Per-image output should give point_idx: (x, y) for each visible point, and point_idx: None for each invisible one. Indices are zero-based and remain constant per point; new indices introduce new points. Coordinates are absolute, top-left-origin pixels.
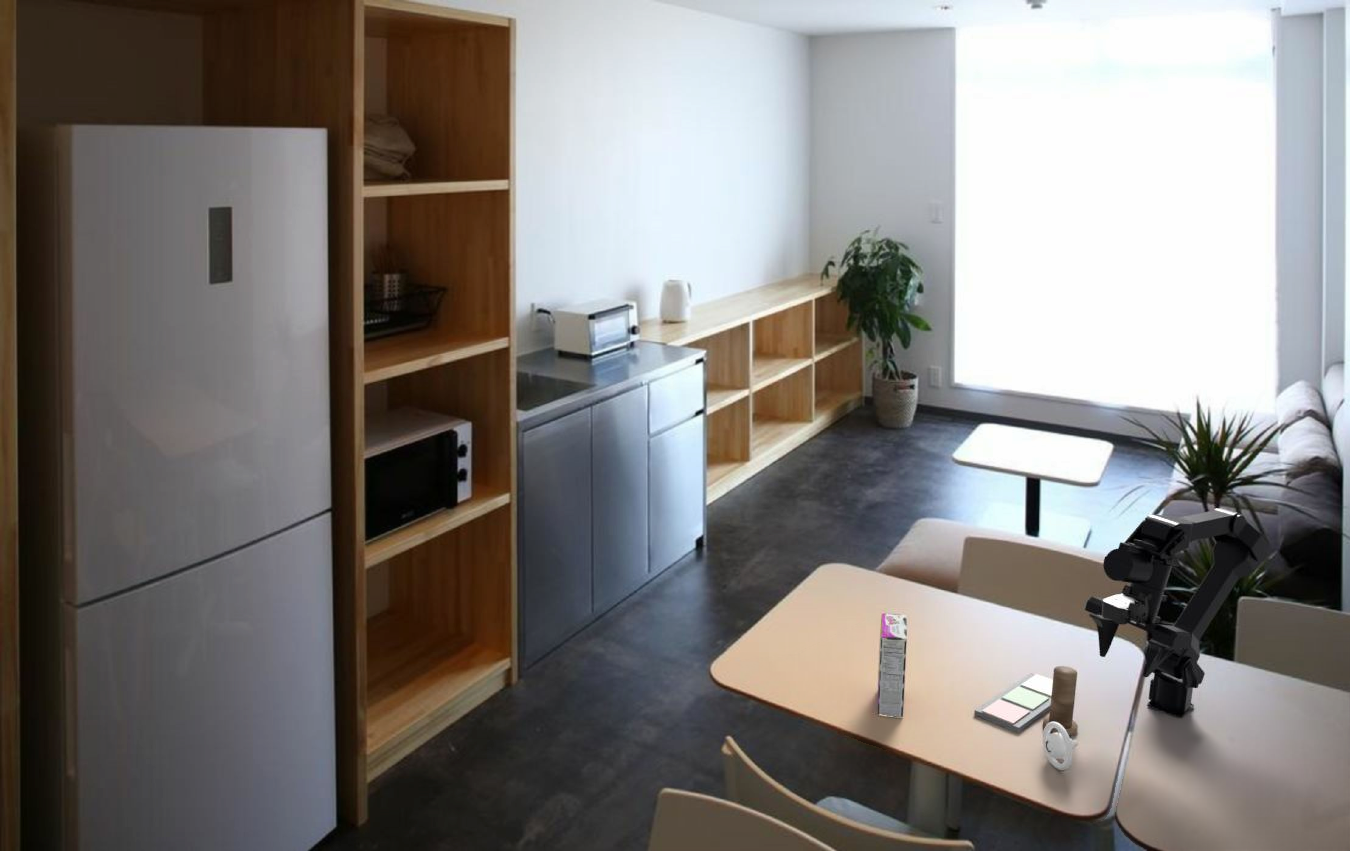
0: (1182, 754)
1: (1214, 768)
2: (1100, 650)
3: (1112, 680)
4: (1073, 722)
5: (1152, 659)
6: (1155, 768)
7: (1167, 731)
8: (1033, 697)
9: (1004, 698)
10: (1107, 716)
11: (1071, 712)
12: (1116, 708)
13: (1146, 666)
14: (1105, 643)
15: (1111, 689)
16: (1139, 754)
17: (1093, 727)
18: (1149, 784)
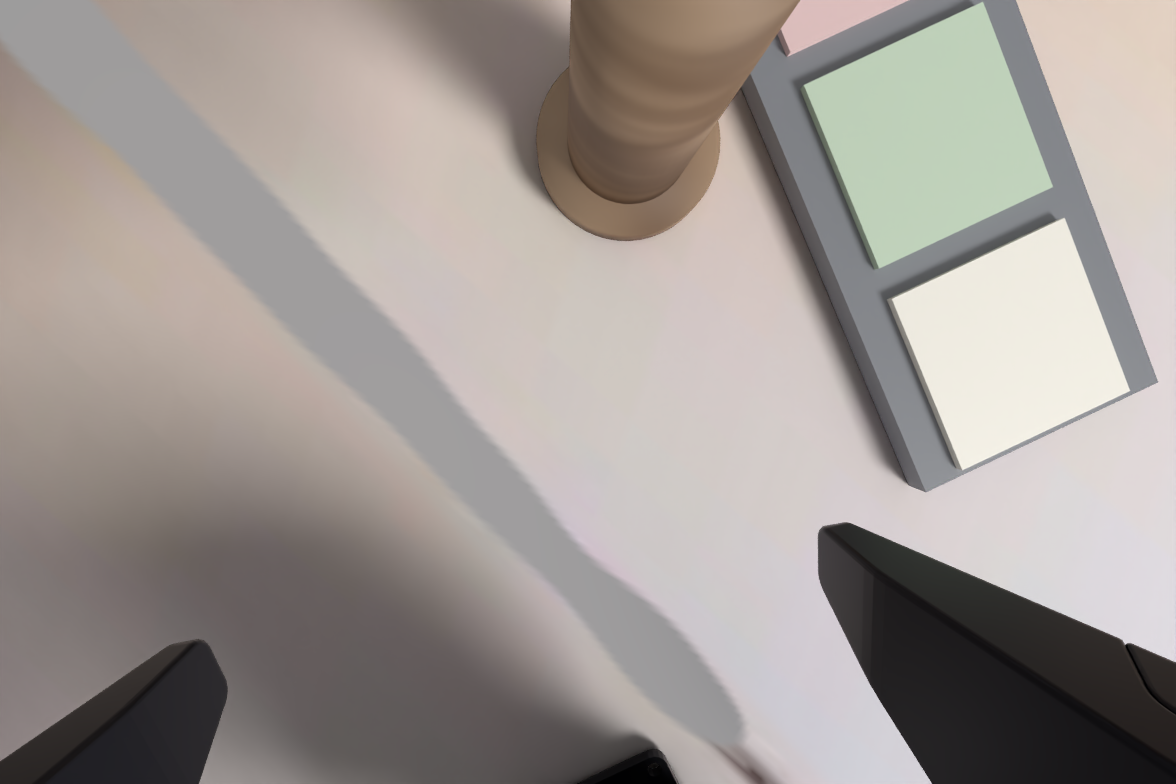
0: (212, 571)
1: (57, 622)
2: (884, 547)
3: None
4: (613, 221)
5: None
6: (139, 344)
7: (420, 663)
8: (912, 182)
9: (965, 10)
10: (643, 481)
11: (571, 120)
12: (695, 584)
13: (48, 750)
14: (942, 673)
15: (865, 699)
16: (275, 365)
17: (574, 331)
18: (18, 203)
